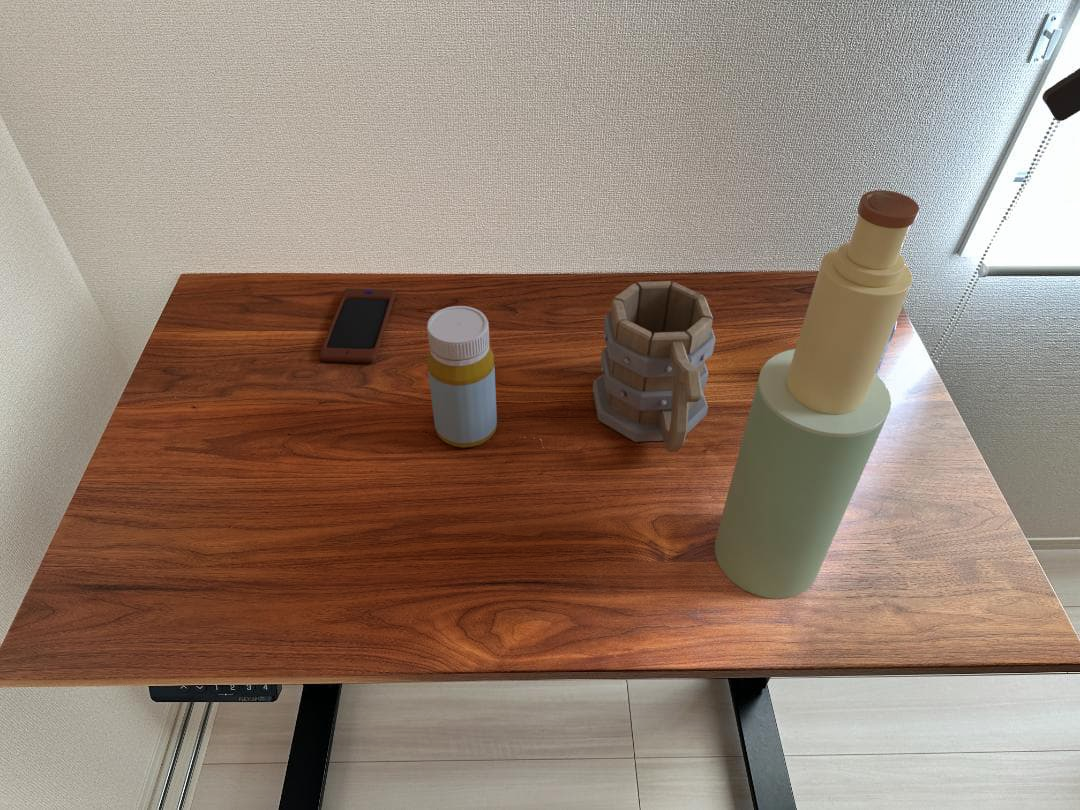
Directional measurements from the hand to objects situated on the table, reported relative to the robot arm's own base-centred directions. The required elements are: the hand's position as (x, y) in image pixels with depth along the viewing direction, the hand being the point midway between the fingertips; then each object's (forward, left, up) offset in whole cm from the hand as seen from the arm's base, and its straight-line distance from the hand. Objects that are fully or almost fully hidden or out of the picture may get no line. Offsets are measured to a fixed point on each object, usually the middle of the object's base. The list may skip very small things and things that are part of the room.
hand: (1075, 138), depth 46 cm
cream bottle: (+9, +4, -21) cm, 23 cm away
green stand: (+9, +4, -43) cm, 44 cm away
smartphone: (+66, -8, -43) cm, 79 cm away
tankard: (+25, -8, -43) cm, 50 cm away
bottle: (+44, +2, -43) cm, 61 cm away
